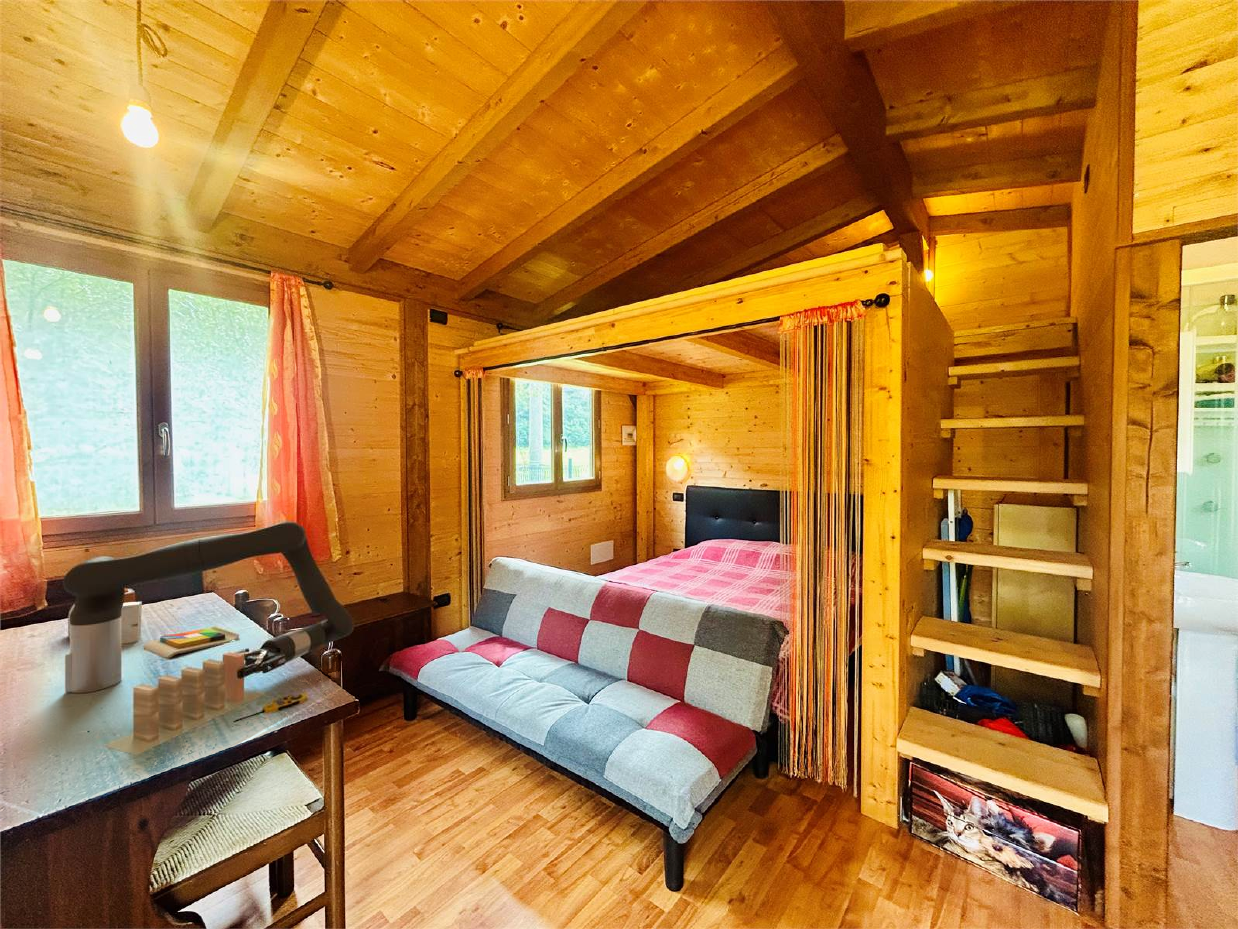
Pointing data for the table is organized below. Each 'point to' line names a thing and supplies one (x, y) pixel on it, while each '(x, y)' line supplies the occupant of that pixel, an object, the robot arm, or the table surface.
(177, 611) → the table surface
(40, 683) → the table surface
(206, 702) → the domino
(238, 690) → the domino
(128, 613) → the skincare box
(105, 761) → the table surface
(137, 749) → the mat
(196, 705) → the domino
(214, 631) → the wooden puzzle
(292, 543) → the robot arm
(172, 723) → the domino
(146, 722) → the domino
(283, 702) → the yellow screwdriver
